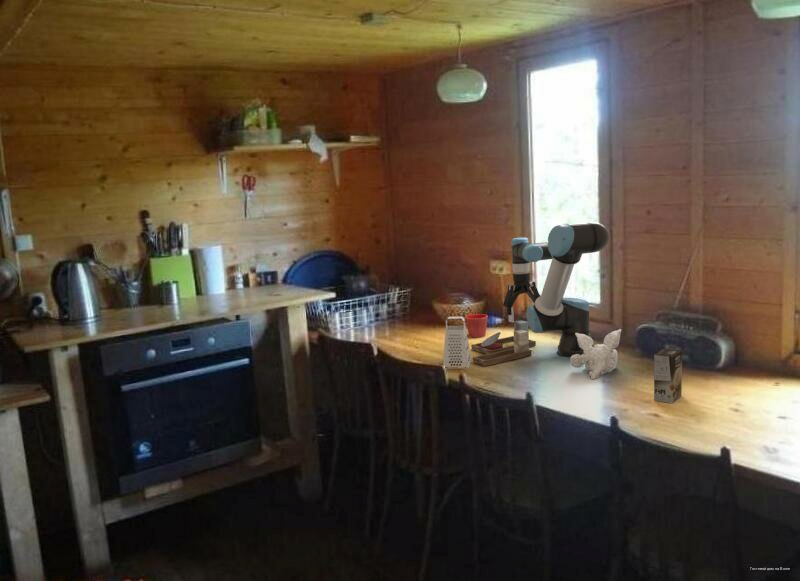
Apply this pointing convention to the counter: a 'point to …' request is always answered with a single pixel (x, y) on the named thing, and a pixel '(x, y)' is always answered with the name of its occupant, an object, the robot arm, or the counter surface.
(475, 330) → the flower pot
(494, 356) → the lane
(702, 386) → the counter surface
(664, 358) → the coffee box
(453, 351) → the grater
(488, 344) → the canned food
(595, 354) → the white sculpted figure
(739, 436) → the counter surface
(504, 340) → the lane
